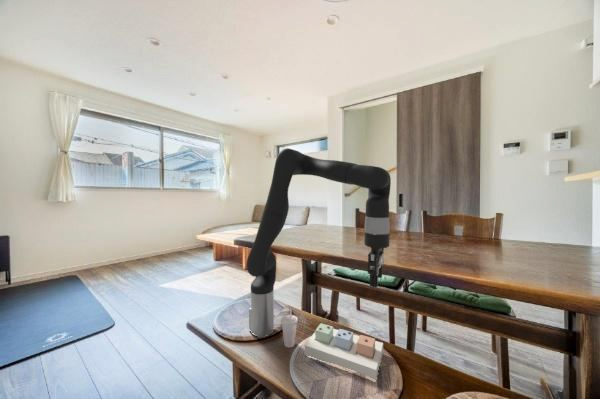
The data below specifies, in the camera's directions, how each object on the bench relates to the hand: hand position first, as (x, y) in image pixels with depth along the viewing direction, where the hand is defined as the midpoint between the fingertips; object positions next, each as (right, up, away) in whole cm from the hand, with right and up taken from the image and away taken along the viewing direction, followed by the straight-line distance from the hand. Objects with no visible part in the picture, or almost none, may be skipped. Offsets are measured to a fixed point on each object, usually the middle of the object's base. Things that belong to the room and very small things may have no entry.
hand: (376, 281), depth 74 cm
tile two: (-15, -27, +11) cm, 33 cm away
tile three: (-9, -27, +8) cm, 29 cm away
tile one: (-2, -27, +4) cm, 27 cm away
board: (-9, -29, +8) cm, 31 cm away
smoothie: (-28, -29, +13) cm, 42 cm away
